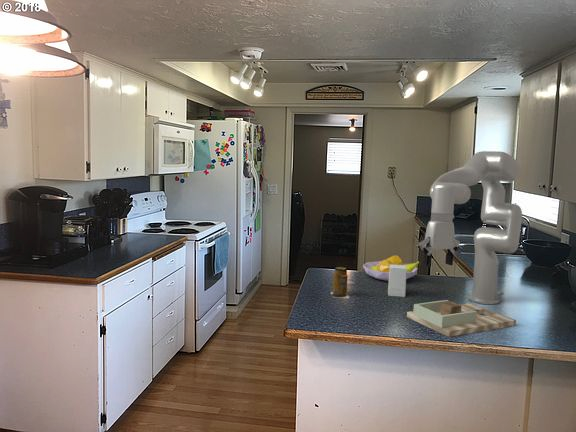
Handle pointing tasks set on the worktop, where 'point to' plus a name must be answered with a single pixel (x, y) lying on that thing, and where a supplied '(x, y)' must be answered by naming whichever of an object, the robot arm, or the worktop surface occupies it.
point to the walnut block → (450, 308)
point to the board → (481, 323)
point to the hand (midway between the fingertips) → (438, 265)
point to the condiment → (340, 283)
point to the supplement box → (397, 280)
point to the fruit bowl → (382, 268)
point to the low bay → (430, 315)
